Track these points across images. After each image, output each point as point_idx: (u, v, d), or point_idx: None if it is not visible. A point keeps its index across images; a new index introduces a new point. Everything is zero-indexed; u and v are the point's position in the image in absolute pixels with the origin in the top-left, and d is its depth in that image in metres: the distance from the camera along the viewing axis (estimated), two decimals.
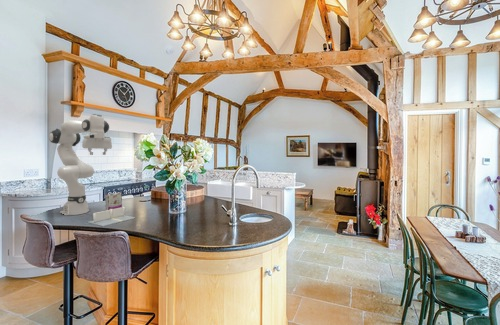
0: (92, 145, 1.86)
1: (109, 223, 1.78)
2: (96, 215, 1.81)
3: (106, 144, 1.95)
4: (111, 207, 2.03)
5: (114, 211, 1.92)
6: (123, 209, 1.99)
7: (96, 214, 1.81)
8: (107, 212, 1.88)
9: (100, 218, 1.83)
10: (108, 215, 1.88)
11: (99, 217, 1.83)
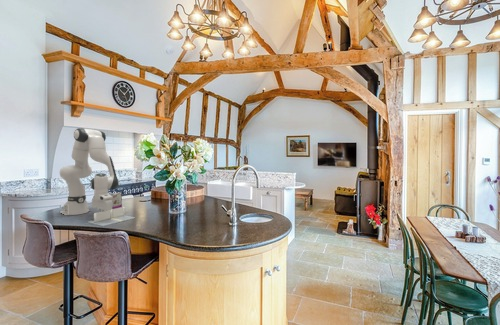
0: None
1: (109, 223, 1.78)
2: (97, 215, 1.80)
3: None
4: None
5: (114, 211, 1.92)
6: (123, 209, 1.99)
7: (97, 214, 1.80)
8: (108, 212, 1.88)
9: (100, 218, 1.83)
10: (108, 215, 1.88)
11: (100, 217, 1.83)
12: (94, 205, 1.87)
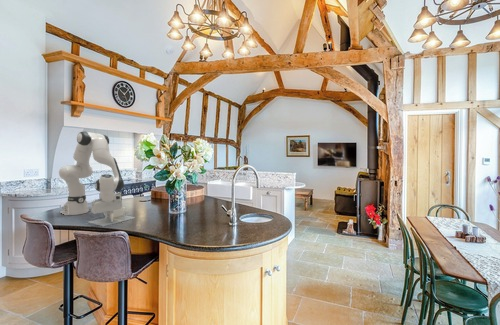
0: None
1: (109, 223, 1.78)
2: None
3: None
4: None
5: (114, 211, 1.92)
6: (123, 209, 1.99)
7: None
8: None
9: None
10: None
11: None
12: (100, 210, 1.74)
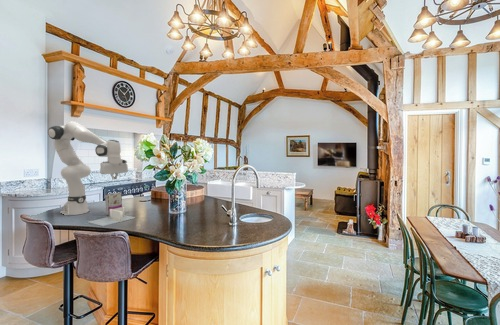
0: None
1: (109, 223, 1.78)
2: None
3: None
4: (111, 207, 2.03)
5: None
6: (123, 209, 1.99)
7: None
8: None
9: None
10: None
11: None
12: (108, 171, 1.89)
